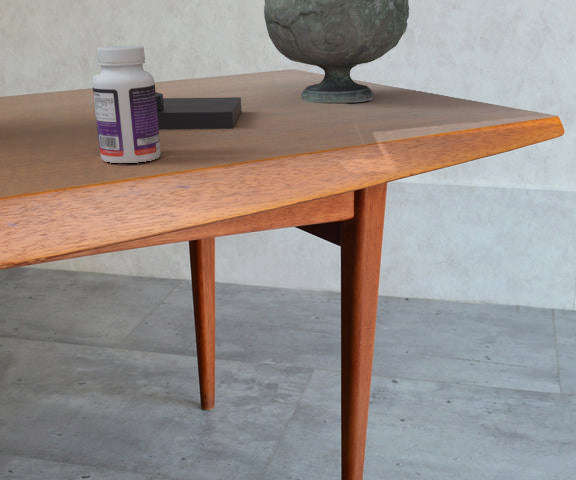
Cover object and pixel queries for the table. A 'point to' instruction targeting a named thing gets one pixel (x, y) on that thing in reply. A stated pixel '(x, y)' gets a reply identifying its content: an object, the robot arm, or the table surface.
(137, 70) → the pill bottle
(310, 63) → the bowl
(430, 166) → the table surface
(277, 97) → the table surface
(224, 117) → the scale
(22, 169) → the table surface
